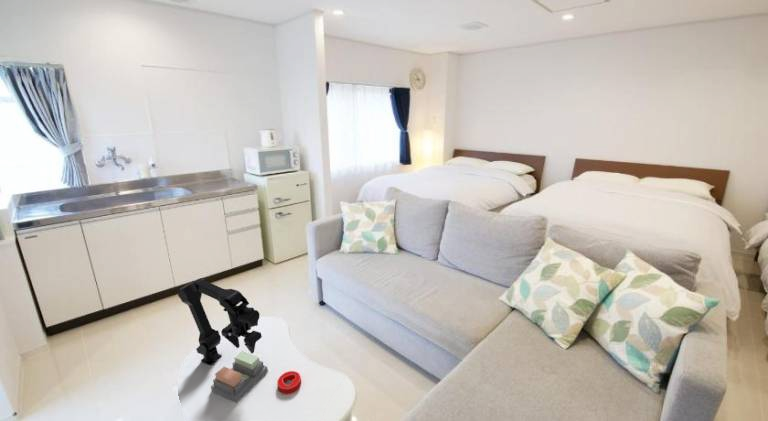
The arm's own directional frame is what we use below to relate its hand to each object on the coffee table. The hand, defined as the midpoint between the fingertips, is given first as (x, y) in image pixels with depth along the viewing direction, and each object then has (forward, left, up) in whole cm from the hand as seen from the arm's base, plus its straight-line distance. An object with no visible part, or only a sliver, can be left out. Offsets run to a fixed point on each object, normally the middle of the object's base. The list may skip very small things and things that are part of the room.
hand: (245, 350), depth 146 cm
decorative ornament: (+21, +2, -13) cm, 25 cm away
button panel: (0, -5, -13) cm, 14 cm away
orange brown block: (0, -10, -8) cm, 13 cm away
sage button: (0, 0, -8) cm, 8 cm away
